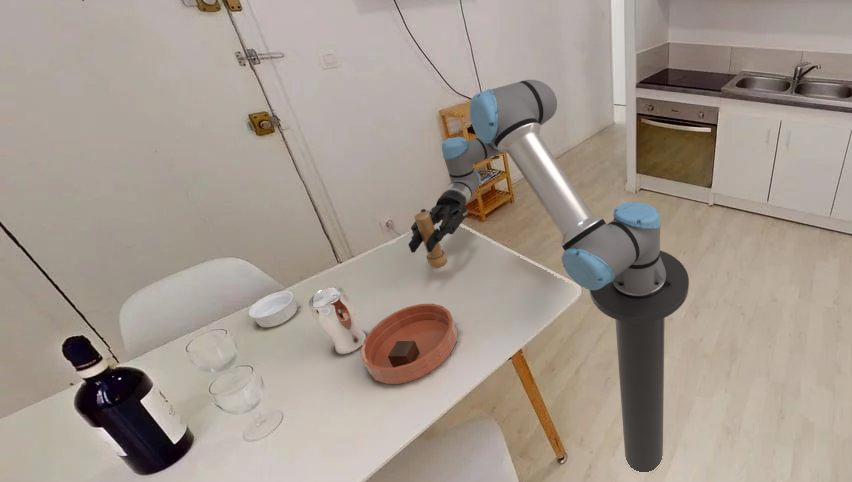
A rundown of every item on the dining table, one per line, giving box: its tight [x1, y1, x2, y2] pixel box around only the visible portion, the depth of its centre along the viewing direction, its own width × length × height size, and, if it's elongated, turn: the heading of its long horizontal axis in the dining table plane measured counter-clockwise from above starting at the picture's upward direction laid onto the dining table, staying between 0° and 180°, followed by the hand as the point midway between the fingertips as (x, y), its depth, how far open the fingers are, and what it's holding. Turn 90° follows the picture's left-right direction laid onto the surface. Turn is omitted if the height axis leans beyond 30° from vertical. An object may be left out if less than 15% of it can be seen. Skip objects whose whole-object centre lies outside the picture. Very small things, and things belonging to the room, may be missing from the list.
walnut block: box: [388, 341, 420, 367], centre depth 90 cm, size 4×4×4 cm
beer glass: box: [307, 285, 367, 355], centre depth 92 cm, size 7×7×15 cm
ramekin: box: [247, 290, 298, 328], centre depth 103 cm, size 9×9×4 cm
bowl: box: [360, 303, 458, 385], centre depth 93 cm, size 18×18×5 cm
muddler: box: [414, 211, 448, 270], centre depth 110 cm, size 5×5×16 cm
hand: (419, 248), depth 104 cm, fingers closed on muddler, 4 cm apart
